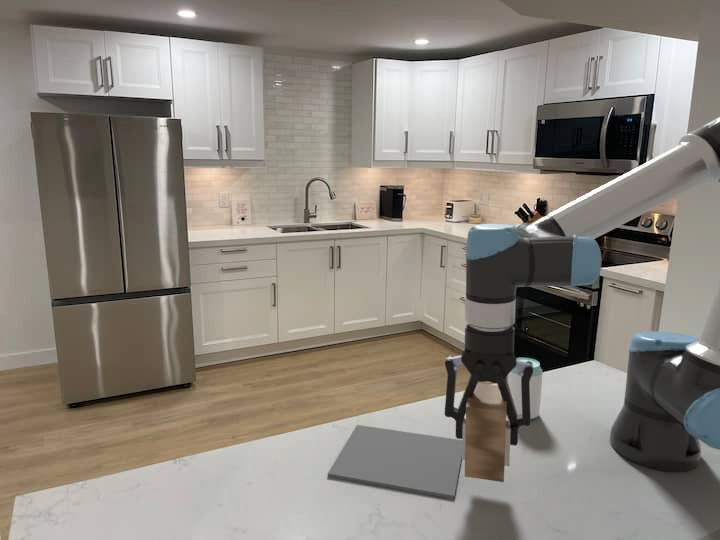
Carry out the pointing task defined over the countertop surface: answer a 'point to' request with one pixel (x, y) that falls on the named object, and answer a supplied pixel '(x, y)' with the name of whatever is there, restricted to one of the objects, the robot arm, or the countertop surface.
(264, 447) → the countertop surface
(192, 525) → the countertop surface
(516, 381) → the can
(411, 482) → the mat
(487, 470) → the walnut block
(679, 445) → the robot arm
